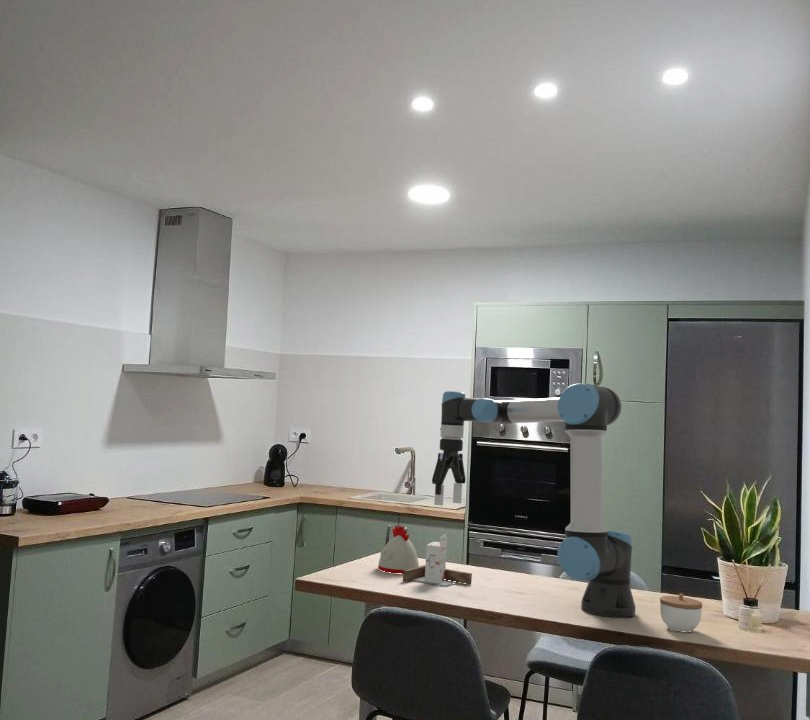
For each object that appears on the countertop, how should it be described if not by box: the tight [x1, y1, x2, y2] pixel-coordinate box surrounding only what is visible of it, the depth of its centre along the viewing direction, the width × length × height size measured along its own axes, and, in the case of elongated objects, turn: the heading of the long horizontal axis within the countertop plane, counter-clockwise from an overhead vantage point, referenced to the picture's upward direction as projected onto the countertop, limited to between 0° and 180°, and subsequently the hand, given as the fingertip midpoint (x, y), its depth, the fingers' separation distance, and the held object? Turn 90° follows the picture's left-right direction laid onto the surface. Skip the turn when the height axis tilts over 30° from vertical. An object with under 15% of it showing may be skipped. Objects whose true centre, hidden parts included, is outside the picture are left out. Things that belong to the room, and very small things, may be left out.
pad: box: [412, 576, 458, 587], centre depth 244 cm, size 12×8×1 cm, turn 60°
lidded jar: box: [659, 593, 703, 632], centre depth 204 cm, size 11×11×9 cm
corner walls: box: [402, 564, 473, 585], centre depth 243 cm, size 18×14×4 cm
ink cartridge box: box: [425, 533, 448, 583], centre depth 245 cm, size 9×5×15 cm, turn 163°
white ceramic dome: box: [377, 525, 420, 574], centre depth 260 cm, size 14×14×15 cm
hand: (448, 504), depth 247 cm, fingers open, 13 cm apart
